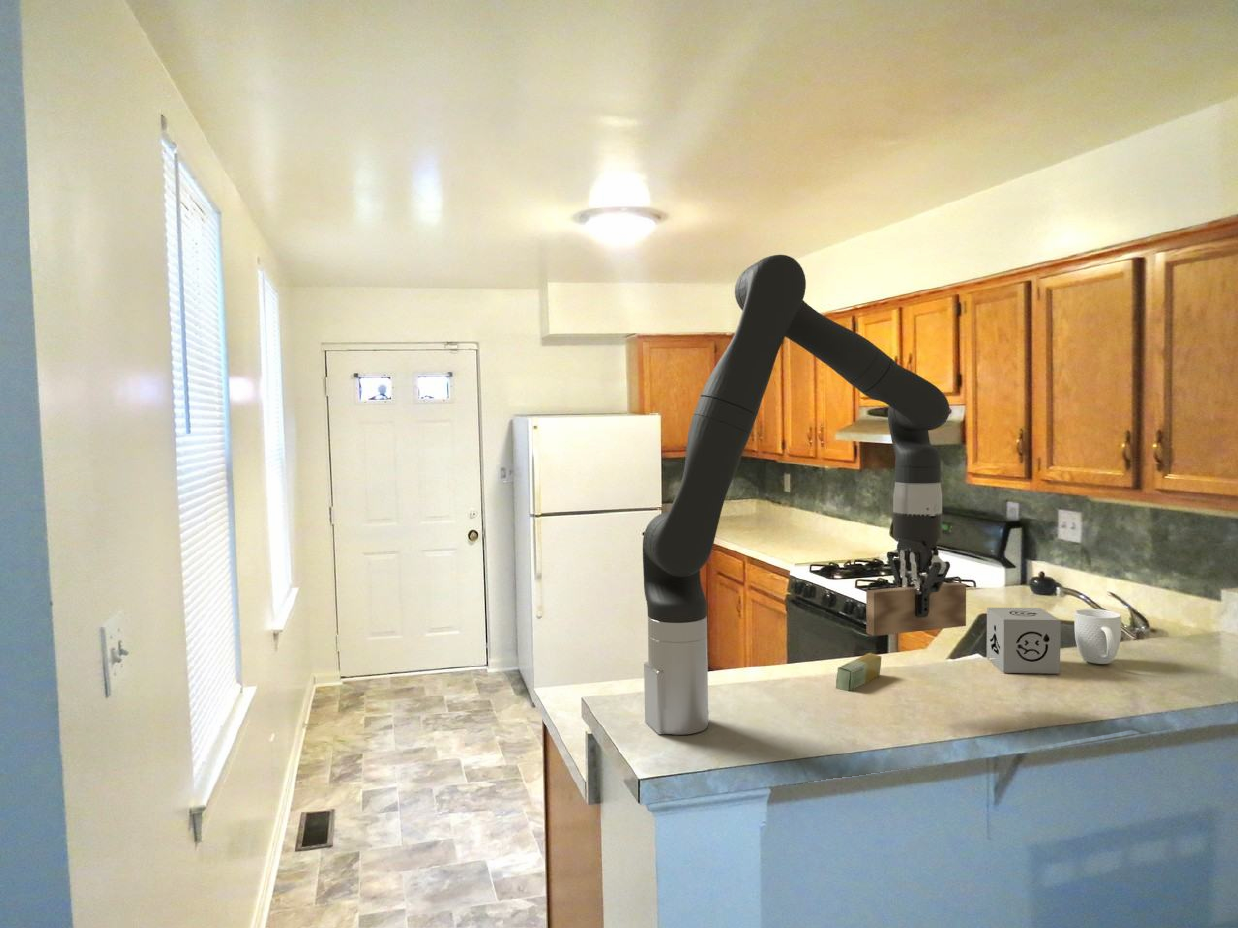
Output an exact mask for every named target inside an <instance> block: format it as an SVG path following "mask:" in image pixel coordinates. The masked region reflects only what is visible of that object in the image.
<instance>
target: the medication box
mask: <svg viewBox="0 0 1238 928" xmlns="http://www.w3.org/2000/svg"><path fill="white" fill-rule="evenodd" d="M881 667H882V656H881V655H878V654H874V653H872V652H868V653H866V654H864V655H862V656H860V657H857V658H856V659H853V660H851V661H849V662H847V663H845V664H844V665H841V666H839V667H837V671H836V680H835V681H836V683H835V689H837V690H841V691H845V692H850V691H851V690H854V689H857V688H858V687H860V686H862V685H864V684H866V683H868V682H870V681H871V680H874V679H875V678H877V677H880V674H881Z"/></svg>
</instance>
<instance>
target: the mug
mask: <svg viewBox="0 0 1238 928" xmlns="http://www.w3.org/2000/svg"><path fill="white" fill-rule="evenodd" d="M1073 625H1074V639H1075V643H1076V648H1077V650H1078V653H1079V655H1080V657H1081V658H1082V660H1083V661H1085V662H1087V663H1091V664H1098V665H1107V664H1111V663H1112V662H1113V661H1114V659H1115V658H1116V657H1117V655H1118V651H1119V649H1120V645H1121V644H1120V643H1121V640H1122V639H1121V637H1122V636H1121V635H1122V615H1121V614H1120V613H1118V612H1117V611H1116V612H1115V611H1111V610H1106V609H1098V608H1096V609H1095V608H1079V609H1076V610H1075V611H1074V624H1073Z"/></svg>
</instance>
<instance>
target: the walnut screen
mask: <svg viewBox="0 0 1238 928" xmlns="http://www.w3.org/2000/svg"><path fill="white" fill-rule="evenodd" d="M933 584H934V583H933ZM933 584H932V585H933ZM922 586H923V584H922ZM865 591H866V605H865V606H866V607H865V609H866V612H865V615H866V621H865V622H866V627H865V629H866V634H867V635H869V636H872V637H879V636H888V635H897V634H906V633H915V632H923V631H933V630H943V629H950V628H959V627H961V628H962V627H966V626H967V584H966V583H963V582H959V581H958V582H957V581H956V582H947V583H946V582H945V583H944V582H943V583H942V586H941V588H940V590H939V592H933V593H931V594H930V595H929V613H928V616H927V617H921V618H919V617H916V616H915V595H917V594H916V593H915V586H910V587H902V586H901V587H890V588H889V587H888V588H877V589H869V590H868V589H867V590H865Z"/></svg>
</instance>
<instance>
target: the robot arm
mask: <svg viewBox="0 0 1238 928" xmlns="http://www.w3.org/2000/svg"><path fill="white" fill-rule="evenodd" d="M806 288H807V282H806V274H805V271H804V269H803V267H802V266H801V264H800V263H799V262H798V261H797V260H796V259H795V258H794V257H791V256H789V255H787V254H786V255H785V254H775V255H769V256H767V257H763V258H762V259H760V260H759V261H757V262H755V263H753V264H752V265H750V266H749V267H747V268H746V269H744V270H743V271H742V272H741V274H740V275H739V276H738V278H737V280H736V283H735V286H734V298H735V301H736V303H737V306H738V307H739V308H740V309H741V311H742V312H741V315H740V318H739V322H738V323H737V324H738V325H737V327H736V330H735V332H734V334H733V337H732V339H731V341H730V342H729V344H728V346H727V348H726V349H725V350H724V353H723V354H722V355H721V357H720V358H719V360H718V362H717V363H716V365H715V366H714V368H713V370H712V372H711V373H710V375H709V377H708V379H707V381H706V382H705V384H704V387H703V389H702V390H701V391H702V392H701V394H700V397H699V399H698V403H697V404H696V408H695V410H694V413H693V416H692V418H691V421H690V425H689V429H688V435H687V440H686V441H687V442H686V447H685V448H686V449H685V457H684V458H685V459H684V460H685V461H684V468H683V473H682V479H681V481H680V485H679V487H678V490H677V492H676V495H675V497H674V500H673V502H672V503H671V507H670V508H669V510H668V511H667V512H661V513H660V514H657V515H656V516H654V517H653V518H652V519H651V521H649V522H648V524H647V526H646V528H645V531H644V533H643V537H642V539H643V540H642V568H643V573H642V574H643V590H644V596H645V601H646V607H647V643H648V644H647V649H648V650H647V651H648V652H647V654H648V661H647V662H644V663H643V671H644V674H643V676H644V683H643V684H644V686H643V687H644V722H645V723H646V724H647V725H648V726H649V727H650V728H651V729H653V731H654V732H655V733H656V734H657V735H665V734H666V735H677V736H678V735H680V736H684V735H692V734H696V733H700V732H702V731H704V730H706V729H707V728H708V727H709V675H708V674H709V673H708V672H709V670H708V666H709V665H708V606H707V605H708V602H707V598H706V595H705V593H704V590H703V589H704V588H703V586H702V579H701V569H702V568H703V567H704V566H705V565H706V563H707V562H708V560H709V558H710V556H711V554H712V550H713V547H714V542H715V538H716V534H717V531H718V530H717V529H718V527H719V522H720V520H721V519H720V518H721V514H722V511H723V507H724V504H725V500H726V497H727V494H728V492H729V488H730V486H731V485H732V484H731V483H732V482H733V479H734V477H735V474H736V472H737V470H738V468H739V464H740V461H741V458H742V456H743V454H744V451H745V448H746V446H747V443H748V441H749V438H750V436H751V433H752V431H753V428H754V425H755V423H756V420H757V416H758V414H759V411H760V407H761V404H762V401H763V398H764V396H765V393H766V390H767V387H768V385H769V381H770V378H771V376H772V372H773V369H774V366H775V362H776V359H777V356H778V353H779V352H780V348H781V346H782V344H783V341H784V339H785V338H787V339H789V340H790V341H792V342H793V343H795V344H796V345H798V346H799V347H801V348H803V349H804V350H805V351H807V353H808V352H809V353H810V354H811V355H813V356H814V357H815V358H817V359H818V360H820V362H822V363H823V364H825V365H826V366H827V367H829V368H830V369H831V370H833V371H834V372H835V373H837V374H838V375H839V376H840V377H841V378H843V379H844V380H845V381H847V383H848V384H850V385H852V387H854V388H855V389H856V390H858V391H859V392H861V393H862V394H863V395H864V396H866V397H868V398H869V399H871V400H873V401H879V402H882V403H884V404H885V405H888V408H887V409H888V410H887V422H888V428H889V433H890V438H891V443H892V444H891V445H892V448H893V451H894V455H895V459H894V460H895V461H894V462H895V463H894V466H895V467H894V489H893V499H892V500H893V501H892V502H893V504H892V505H893V507H892V508H893V509H892V510H893V511H892V512H893V514H892V517H893V519H892V525H893V526H892V531H893V532H892V535H893V537H894V539H896V540H898V542H897V544H896V549H895V550H891V551H887V552H886V559H887V560H888V564H889V567H890V569H891V573H892V575H893V579H894V582H895V584H896V585H897V586H901V587H910V586H915V593H916V594H917V595H915V616H916V617H919V618H921V617H927V616H928V613H929V595H930V594H931V593H933V592H939V590H940V588H941V586H942V584H943V583H944V581H945V579H946V577H947V574H948V573H949V571H950V568H951V564H950V561H948V560H946V561H944V560H943V559H942V558H941V557H940V556H939V555H940V553H939V548H938V542H939V541H940V540H941V539H942V537H943V491H942V485H941V484H942V483H941V482H942V481H941V476H942V475H941V474H942V473H941V472H942V471H941V470H942V467H941V466H942V465H941V464H942V463H941V462H942V461H941V459H942V458H941V453H940V451H939V449H938V448H936V447H935V446H934V445H932V444H931V440H930V434H929V431H934V430H937V429H938V428H940V427H942V426H943V425H944V424H945V423H946V422H947V420H948V419H949V416H950V410H951V409H950V405H949V400H948V398H947V397H946V395H945V394H944V393H943V392H942V390H941V389H939V387H937V386H936V385H934V384H933V383H932V382H931V381H928V380H927V379H925V378H924V377H921V376H920V375H918V374H916V373H915V372H913V371H911V370H909V369H907V368H905V367H903V366H901V365H900V364H898V362H896V361H895V360H894V359H893V358H891V356H889V355H888V354H886V353H885V352H884V351H882V350H881V349H880V348H879V347H878V346H877V345H876V344H874V343H872V342H871V341H870V340H869V339H867V338H865V337H864V336H862V335H861V334H858V333H857V332H855V331H853V330H851V329H850V328H847V327H845V326H844V325H841V324H839V323H838V322H835V321H834V320H832V319H830V318H828V317H826V316H825V315H823V314H821V313H820V312H818V311H817V310H816V309H814V308H813V307H812V306H810V305H809V303H808V302H806V301H805V300H804V297H805V294H806ZM923 581H924V582H923ZM922 582H923V583H922ZM932 584H933V585H932ZM922 585H923V586H922Z"/></svg>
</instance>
